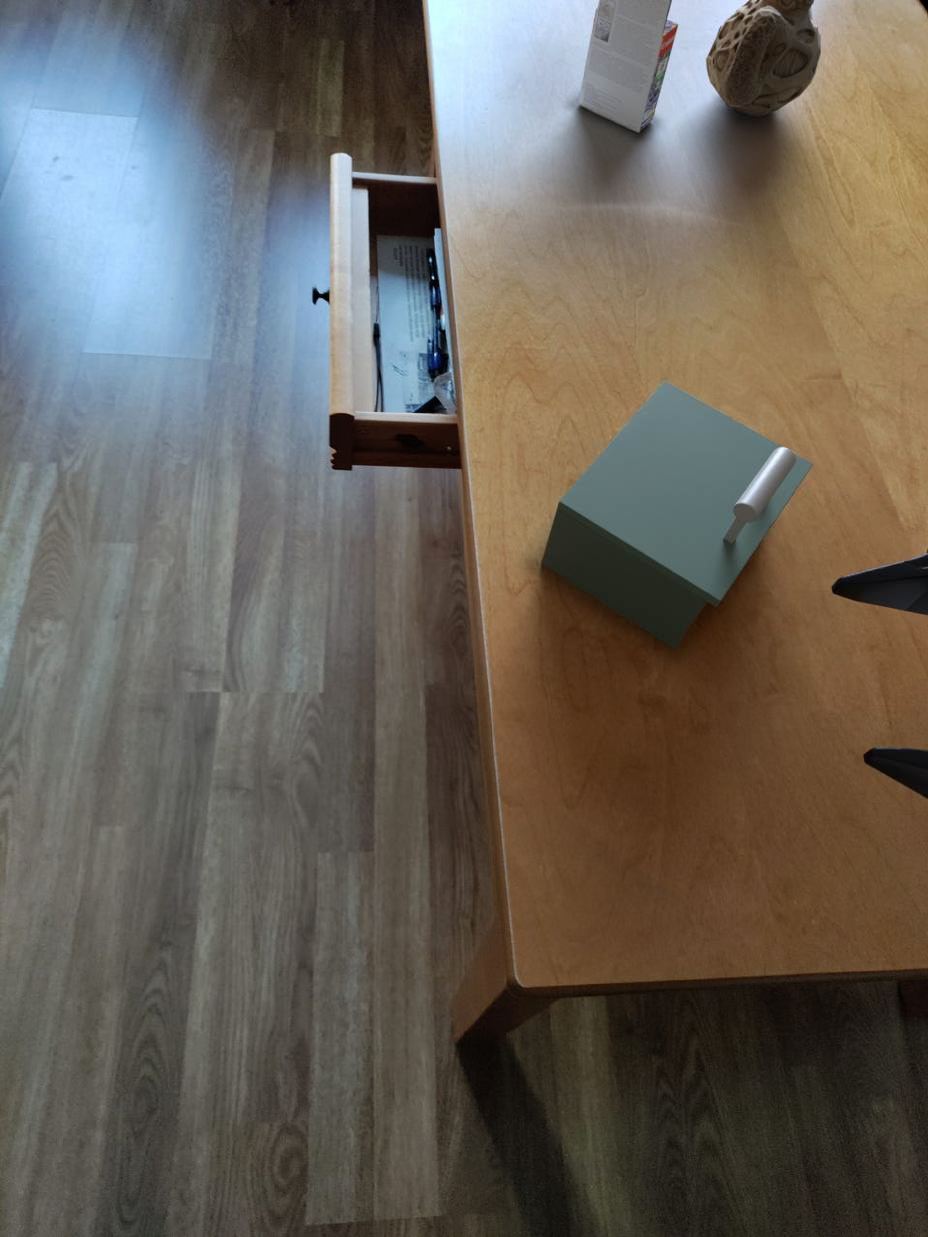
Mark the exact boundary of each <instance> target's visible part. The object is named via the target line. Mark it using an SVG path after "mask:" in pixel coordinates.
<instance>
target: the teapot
mask: <svg viewBox="0 0 928 1237" xmlns="http://www.w3.org/2000/svg"><path fill="white" fill-rule="evenodd" d="M814 2H815V0H748V1H747V2H745V3H744V4H743V5H742V6H740V7H738V9H737V10H735V11H734V12H733V13H732V15H730V16H729V17H728V18H727V19H725V21H724V22H723V24H722V25H720V26H719V28H718V30H717V34H716V36H715V39H714V40H713V43H712V45H711V48H710V50H709V51H708V54H707V56H706V58H705V66H706V72H707V77H708V81H709V83H710V85H711V86H712V87H713V88H714V90H715V91H716V93H717V94H718V96H719V97H720V98H721V100H722V101H723V103H724V104H725V105H726V106H727V107H729V108H730V109H733V110H734V111H736V112H739V113H740V114H743V115H746V116H748V117H750V118H758V117H763V116H765V115H769V114H771V113H773V112H776V111H780V110H781V109H783V107H785V106H787V105H788V104H789V103H792V102H793V101H794V100H796V99H798V98H799V97H801V95H803V93H804V92H805V90H806V89H807V88H808V87H809V86H810V85H811V84H812V81H813V79H814V77H815V75H816V72H817V69H818V64H819V61H820V58H821V54H822V45H821V43H822V42H821V40H822V38H821V37H822V36H821V34H820V32H819V26H818V25H817V24H816V23H815V22H814V20H813V12H812V10H813V9H812V6H813V5H814Z"/></svg>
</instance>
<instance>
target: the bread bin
mask: <svg viewBox="0 0 928 1237" xmlns="http://www.w3.org/2000/svg"><path fill="white" fill-rule="evenodd" d="M540 564H541V565H542V566H544V567H546V568H547V569H549V570H550V571H552V572H553V573H555V574H557V575H558V576H560V577H561V578H563V579H564V580H565V581H568V582H569V583H570V584H572V585H574V586H575V587H577V588H579V590H582V591H583V592H584V593H586V594H588V595H589V596H591V597H593V598H594V599H596V600H597V601H599V602H600V603H601V604H603V605H605V606H607V607H608V608H609V609H612V610H613V611H614V612H615V613H617V614H619V615H621V616H622V617H623V618H625V619H627V620H628V621H630V622H632V623H633V624H634V625H636V626H638V627H639V628H641V629H642V630H644V631H645V632H647V633H649V635H652V636H653V637H654V638H656V639H658V640H659V641H660V642H662V643H664V644H665V645H667V646H668V647H670V648H672V649H673V650H675V649H676V648H677V646H678V645H679V644H680V642H681V641H682V639H683V638H684V636H685V635H686V633H687V632H688V630H689V629H690V628H691V626H692V625H693V623H694V621H695V620H696V618H697V617H698V616H699V614H700V613H701V612H702V610H703V609H704V607H705V606H706V605H707V603H708V602H707V601H706V600H704V599H702V598H701V597H699V596H698V595H696V594H694V593H693V592H691V591H690V590H688V589H686V588H685V587H683V586H681V585H680V584H678V583H677V582H675V581H673V580H672V579H670V578H669V577H667V576H665V575H664V574H662V573H661V572H659V571H657V570H656V569H654V568H652V567H651V566H649V565H648V564H646V563H644V562H643V561H641V560H640V559H638V558H636V557H635V556H633V555H632V554H630V553H628V552H627V551H625V550H623V549H622V548H620V547H619V546H617V545H615V544H614V543H612V542H611V541H609V540H607V539H606V538H604V537H603V536H601V535H599V534H598V533H596V532H594V531H593V530H591V529H590V528H588V527H586V526H585V525H583V524H582V523H580V522H578V521H577V520H575V519H574V518H572V517H570V516H569V515H567V514H565V513H564V512H562V511H561V510H559V509H558V508H556V510H555V514H554V518H553V521H552V524H551V528H550V531H549V535H548V538H547V542H546V545H545V548H544V552H543V555H542V558H541V562H540Z"/></svg>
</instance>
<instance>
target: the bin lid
mask: <svg viewBox="0 0 928 1237" xmlns="http://www.w3.org/2000/svg"><path fill="white" fill-rule="evenodd" d="M813 466H814V463H813V462H811V461H810V460H808V459H806V458H804V457H802V456H800V455H798V454H797V453H795V452H794V451H793V450H791V449H790V448H787V447H785V446H783V445H781V444H779V443H777V442H775V441H774V440H772V439H770V438H769V437H766V436H765V435H763V434H762V433H759V432H758V431H756V430H755V429H752V428H750V427H749V426H747V425H745V424H744V423H741V422H740V421H738V420H736V419H734V418H733V417H731V416H729V415H727V414H726V413H724V412H722V411H721V410H718V409H716V408H715V407H713V406H712V405H709V404H707V403H706V402H704V401H702V400H700V399H699V398H697V397H695V396H693V395H691V394H689V393H688V392H686V391H684V390H682V389H681V388H679V387H677V386H675V385H673V384H672V383H670V382H669V381H666V380H663V381H662V382H661V383H660V384H659V386H658V387H657V388H656V389H655V390H654V391H653V393H652V394H651V395H650V396H649V397H648V398H647V399H646V401H645V402H644V403H643V404H642V405H641V406H640V407H639V409H637V411H636V412H635V413H634V414H633V416H632V417H631V418H630V419H629V420H628V421H627V422H626V423H625V425H624V426H623V427H622V428H621V429H620V430H619V431H618V433H617V434H616V435H615V436H614V438H612V440H611V441H610V442H609V443H608V444H607V446H606V447H604V449H603V450H602V451H601V452H600V454H599V455H598V456H597V457H596V458H595V459H594V461H593V462H592V463H591V464H590V465H589V466H588V467H587V469H586V470H585V471H584V472H583V473H582V474H581V475H580V476H579V478H578V479H577V480H576V481H575V483H573V485H572V486H571V487H570V488H569V489H568V490H567V491H566V492H565V494H564V495H563V496H562V497H561V498H560V500H559V501H558V504H557V508H558V509H559V510H561V511H562V512H564V513H565V514H567V515H569V516H570V517H572V518H574V519H575V520H577V521H578V522H580V523H582V524H583V525H585V526H586V527H588V528H590V529H591V530H593V531H594V532H596V533H598V534H599V535H601V536H603V537H604V538H606V539H607V540H609V541H611V542H612V543H614V544H615V545H617V546H619V547H620V548H622V549H623V550H625V551H627V552H628V553H630V554H632V555H633V556H635V557H636V558H638V559H640V560H641V561H643V562H644V563H646V564H648V565H649V566H651V567H652V568H654V569H656V570H657V571H659V572H661V573H662V574H664V575H665V576H667V577H669V578H670V579H672V580H673V581H675V582H677V583H678V584H680V585H681V586H683V587H685V588H686V589H688V590H690V591H691V592H693V593H694V594H696V595H698V596H699V597H701V598H702V599H704V600H706V601H707V603H709V604H710V605H712V606H714V607H715V608H717V607H718V606H719V605H720V603H721V601H722V600H723V599H724V597H725V596H726V594H727V593H728V591H729V590H730V588H731V587H732V585H733V584H734V582H735V581H736V579H737V578H738V577H739V575H740V574H741V572H742V571H743V569H744V567H745V566H746V565H747V563H748V562H749V560H750V559H751V557H752V556H753V554H754V553H755V552H756V550H757V549H758V547H759V545H760V544H761V543H762V541H763V540H764V538H765V537H766V536H767V534H768V532H769V531H770V529H771V528H772V526H773V525H774V524H775V522H776V521H777V519H778V518H779V516H780V515H781V513H782V512H783V510H784V509H785V507H786V506H787V504H788V503H789V501H790V500H791V498H792V497H793V496H794V495H795V493H796V492H797V490H798V488H799V486H800V485H801V484H802V482H803V481H804V479H805V477H806V476H807V475H808V473H809V472H810V470H811V469H812V467H813ZM557 508H556V509H557Z"/></svg>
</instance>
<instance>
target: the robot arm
mask: <svg viewBox="0 0 928 1237" xmlns="http://www.w3.org/2000/svg"><path fill="white" fill-rule="evenodd" d="M831 593H832V594H833V595H836V596H838V597H841V598H844V599H847V600H850V601H853V602H857V603H863V604H868V605H873V606H879V607H883V608H888V609H894V610H897V611H898V610H899V611H903V612H909V613H913V614H918V615H924V616H928V549H927V550H926V553H924V554H921V555H919V556H916V557H912V558H908V559H904V560H900V561H897V562H892V563H889V564H886V565H882V566H878V567H873V568H870V569H866V570H863V571H858V572H854V573H849V574H847V575H842V576H841V577H840V576H839V578H837V579H836V581H835V582H834V583H833V584H832V585H831ZM862 758H863V762H864V763H865V764H866V765H867V766H869V767H871V768H872V769H874V770H876V771H878V772H880V773H881V774H883V775H885V776H887V777H888V778H890V779H892V780H894V781H896V782H897V783H899V784H901V785H902V786H904V787H906V788H908V789H910V790H911V791H913V792H914V793H916V794H918V795H920V796H922V797H924V798H925V799H927V800H928V750H927V749H921V748H912V747H883V746H882V747H880V746H879V747H877V746H876V747H872V748H870V749H869V750H867V751H866V752H865V753H863V755H862Z"/></svg>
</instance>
